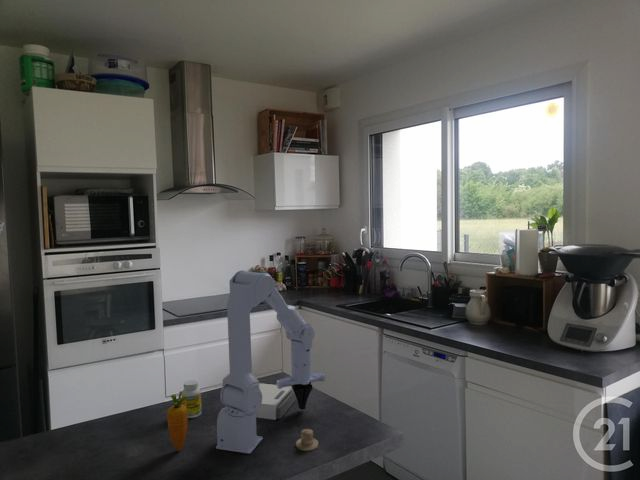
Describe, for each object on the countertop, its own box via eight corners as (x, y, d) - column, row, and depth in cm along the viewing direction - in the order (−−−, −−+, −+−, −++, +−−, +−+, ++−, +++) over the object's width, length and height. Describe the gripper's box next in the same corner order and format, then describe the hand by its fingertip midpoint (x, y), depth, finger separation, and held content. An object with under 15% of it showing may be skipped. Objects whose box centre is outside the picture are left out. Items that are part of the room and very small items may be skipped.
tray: (237, 413, 137) (237, 403, 137) (256, 395, 150) (256, 386, 150) (280, 418, 134) (280, 408, 133) (295, 400, 146) (295, 390, 146)
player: (230, 414, 138) (230, 399, 137) (251, 395, 151) (251, 382, 151) (275, 419, 134) (275, 404, 133) (292, 400, 147) (292, 386, 147)
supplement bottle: (199, 408, 142) (198, 377, 141) (203, 415, 137) (202, 383, 136) (180, 412, 139) (179, 381, 138) (184, 420, 134) (183, 387, 134)
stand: (292, 449, 118) (292, 435, 117) (300, 438, 123) (300, 425, 123) (314, 452, 116) (314, 438, 116) (320, 441, 121) (320, 428, 121)
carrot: (181, 443, 121) (179, 386, 120) (193, 449, 118) (191, 391, 117) (164, 451, 117) (161, 393, 116) (175, 458, 114) (173, 398, 113)
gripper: (281, 370, 131) (282, 418, 132) (329, 363, 137) (329, 408, 138) (274, 363, 138) (275, 408, 139) (320, 356, 143) (320, 399, 144)
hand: (301, 408), depth 139 cm, fingers closed
